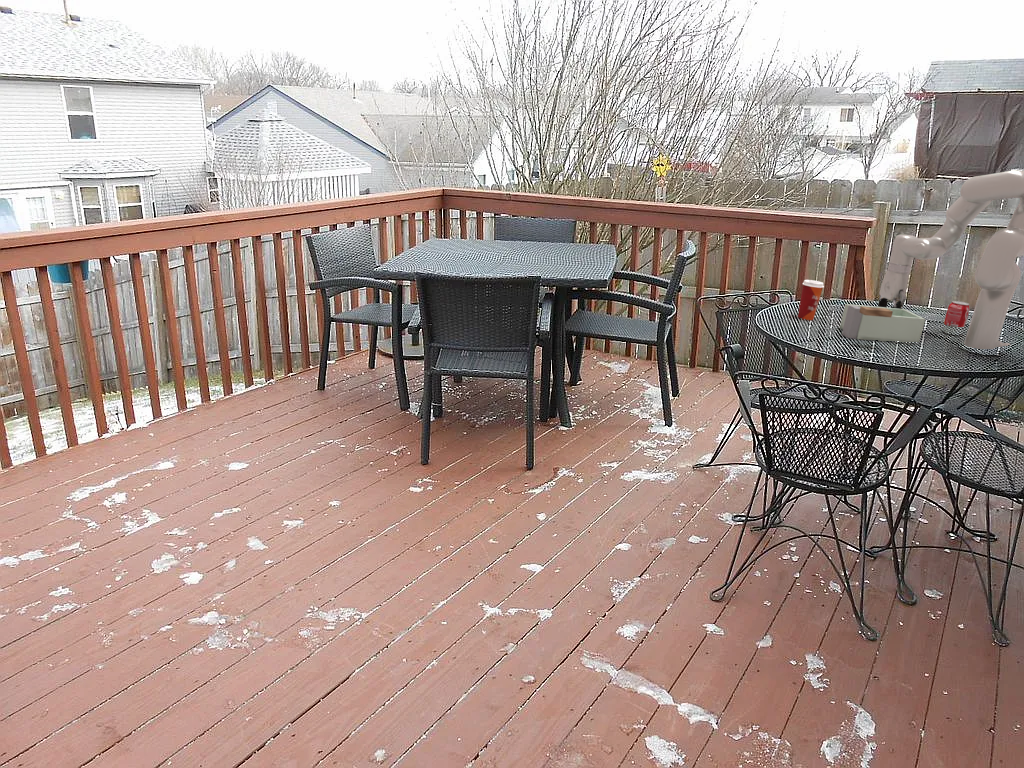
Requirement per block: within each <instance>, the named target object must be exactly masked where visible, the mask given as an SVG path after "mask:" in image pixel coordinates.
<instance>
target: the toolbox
mask: <svg viewBox="0 0 1024 768" xmlns="http://www.w3.org/2000/svg"><path fill="white" fill-rule="evenodd" d="M861 306H862V307H874V308H886V307H878V306H872V305H862V304H861V305H860V304H848V303H845V305H844V308H843V312H842V316H841V320H840V325H839V329H840V330H841V331H842V332H841V335H843V336H844V337H846V339H856V340H865V341H874V340H878V341H877V342H886V341H900V342H919V343H920V340H921V336H922V334H923V333H922V331H923V330H924V326H925V323H926V318H924V317H922V316H920V315H918V314H916V313H913V312H911V311H909V310H907V309H906V308H901V309H897V308H892V307H887V308H886V309H889V310H891V311H893V313H892V316H891V317H880V316H868V315H863V314H862V313H860V312H859V311H860V307H861Z"/></svg>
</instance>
